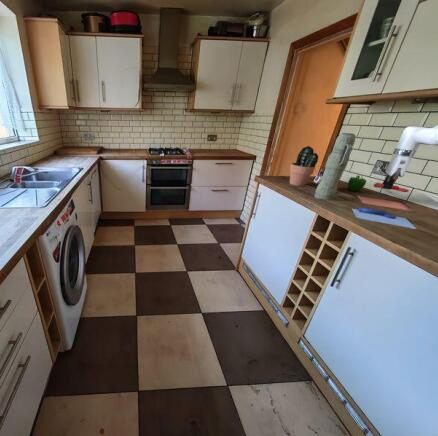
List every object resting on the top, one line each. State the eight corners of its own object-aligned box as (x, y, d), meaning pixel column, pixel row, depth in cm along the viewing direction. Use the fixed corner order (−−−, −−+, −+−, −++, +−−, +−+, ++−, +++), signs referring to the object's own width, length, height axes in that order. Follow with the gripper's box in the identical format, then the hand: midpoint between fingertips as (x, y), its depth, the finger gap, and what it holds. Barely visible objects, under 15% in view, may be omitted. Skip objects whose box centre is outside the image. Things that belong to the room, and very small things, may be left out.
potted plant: (284, 184, 153) (295, 146, 142) (286, 180, 163) (297, 144, 152) (308, 188, 146) (322, 148, 135) (309, 183, 156) (322, 146, 145)
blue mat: (405, 219, 106) (405, 218, 106) (416, 230, 96) (417, 229, 96) (351, 209, 116) (351, 208, 115) (356, 218, 105) (356, 217, 105)
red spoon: (405, 190, 119) (408, 186, 118) (409, 192, 116) (411, 188, 115) (371, 185, 126) (373, 181, 125) (373, 187, 122) (375, 183, 121)
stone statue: (321, 201, 125) (347, 134, 110) (309, 194, 135) (331, 132, 120) (338, 202, 124) (366, 134, 109) (324, 195, 135) (348, 132, 120)
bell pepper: (353, 188, 149) (360, 173, 145) (364, 192, 141) (372, 177, 137) (341, 188, 149) (347, 173, 144) (352, 192, 141) (358, 176, 137)
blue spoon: (393, 216, 108) (395, 212, 107) (396, 219, 104) (399, 215, 103) (356, 209, 114) (358, 205, 113) (358, 212, 111) (360, 208, 110)
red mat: (404, 204, 125) (404, 203, 124) (413, 212, 115) (413, 211, 114) (357, 196, 134) (357, 196, 134) (362, 203, 124) (362, 202, 123)
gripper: (421, 156, 105) (400, 193, 114) (407, 151, 118) (390, 185, 126) (399, 154, 109) (380, 190, 117) (388, 150, 121) (372, 183, 129)
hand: (385, 187), depth 121 cm, fingers closed on red spoon, 2 cm apart
